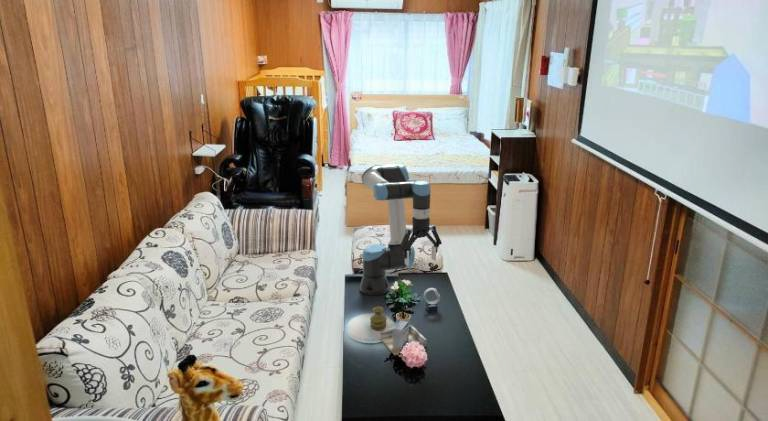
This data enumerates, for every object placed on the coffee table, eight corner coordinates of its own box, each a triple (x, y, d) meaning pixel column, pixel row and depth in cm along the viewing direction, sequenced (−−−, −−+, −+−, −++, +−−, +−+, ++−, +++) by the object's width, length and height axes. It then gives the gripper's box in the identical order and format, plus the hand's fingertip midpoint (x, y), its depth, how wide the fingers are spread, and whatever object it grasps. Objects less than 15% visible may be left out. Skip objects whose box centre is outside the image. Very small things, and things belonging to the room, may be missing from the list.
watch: (441, 311, 250) (442, 290, 247) (424, 312, 249) (425, 291, 246) (438, 306, 255) (439, 285, 252) (422, 307, 254) (422, 286, 251)
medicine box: (402, 349, 218) (402, 330, 215) (392, 346, 219) (392, 328, 217) (408, 339, 225) (409, 321, 222) (399, 337, 226) (399, 319, 224)
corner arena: (380, 339, 227) (380, 332, 226) (411, 331, 233) (411, 324, 232) (394, 355, 215) (394, 348, 214) (426, 347, 221) (426, 339, 220)
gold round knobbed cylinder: (366, 327, 237) (366, 307, 234) (377, 321, 242) (377, 301, 239) (378, 332, 232) (378, 312, 229) (389, 326, 237) (389, 306, 234)
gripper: (399, 223, 220) (399, 269, 226) (450, 215, 230) (448, 260, 236) (391, 218, 226) (391, 263, 233) (441, 210, 236) (440, 254, 243)
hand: (420, 262), depth 235 cm, fingers open, 13 cm apart
